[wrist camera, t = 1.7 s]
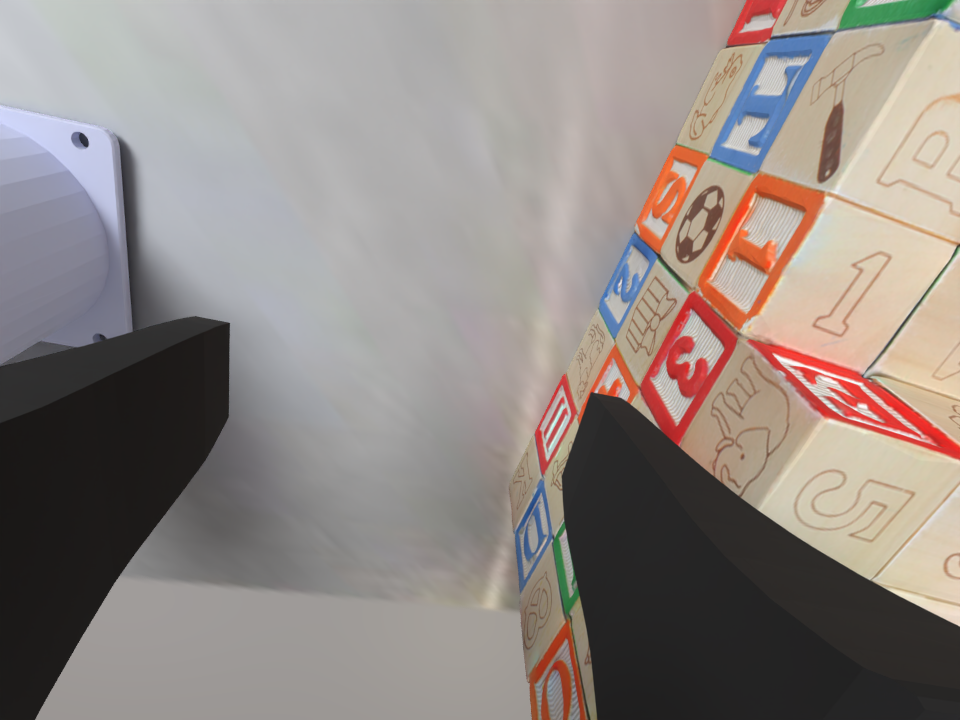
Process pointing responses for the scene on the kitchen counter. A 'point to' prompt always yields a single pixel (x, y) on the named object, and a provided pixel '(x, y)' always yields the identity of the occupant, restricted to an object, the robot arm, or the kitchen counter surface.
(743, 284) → the stack of blocks
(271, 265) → the kitchen counter surface
